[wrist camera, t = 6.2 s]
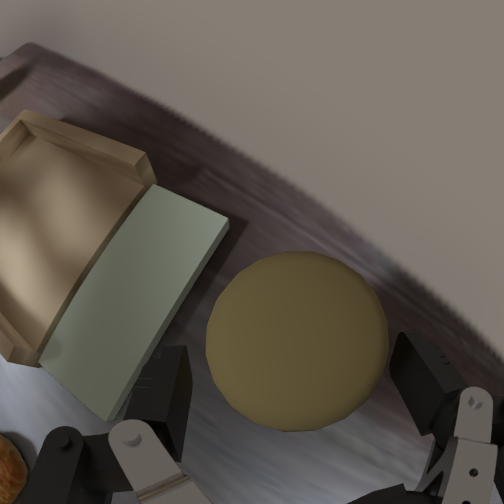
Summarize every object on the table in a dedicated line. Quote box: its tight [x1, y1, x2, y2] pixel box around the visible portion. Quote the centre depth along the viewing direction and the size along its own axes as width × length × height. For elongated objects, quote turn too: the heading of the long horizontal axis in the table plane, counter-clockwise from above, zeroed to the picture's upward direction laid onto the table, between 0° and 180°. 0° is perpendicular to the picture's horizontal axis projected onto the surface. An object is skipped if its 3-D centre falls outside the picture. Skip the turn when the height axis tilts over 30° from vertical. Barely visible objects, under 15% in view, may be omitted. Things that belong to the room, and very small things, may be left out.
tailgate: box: [38, 184, 230, 422], centre depth 18 cm, size 14×1×6 cm
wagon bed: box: [0, 109, 158, 368], centre depth 19 cm, size 16×18×4 cm
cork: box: [206, 251, 389, 432], centre depth 12 cm, size 6×6×11 cm
